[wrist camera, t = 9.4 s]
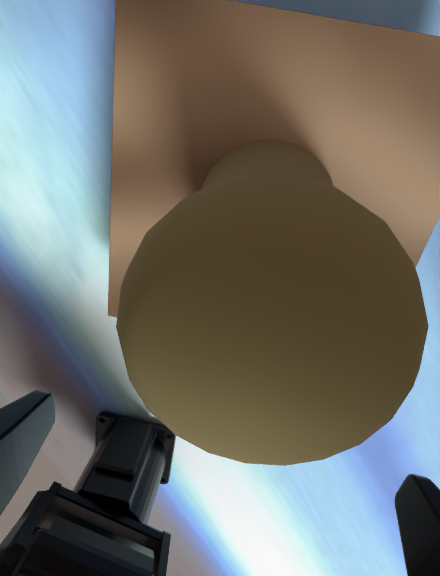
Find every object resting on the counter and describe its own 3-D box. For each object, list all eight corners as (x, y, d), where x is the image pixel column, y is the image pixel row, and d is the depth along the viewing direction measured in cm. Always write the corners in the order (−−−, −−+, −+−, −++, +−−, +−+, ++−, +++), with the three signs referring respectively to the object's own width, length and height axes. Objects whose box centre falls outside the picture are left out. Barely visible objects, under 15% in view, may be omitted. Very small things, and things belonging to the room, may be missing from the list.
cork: (170, 219, 15) (-14, 379, 5) (262, 103, 13) (247, -14, 3) (267, 301, 16) (267, 562, 6) (368, 209, 14) (625, 395, 4)
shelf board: (360, 358, 18) (366, 372, 17) (117, 304, 19) (107, 315, 18) (495, 57, 12) (517, 49, 11) (128, -7, 13) (116, -20, 12)
